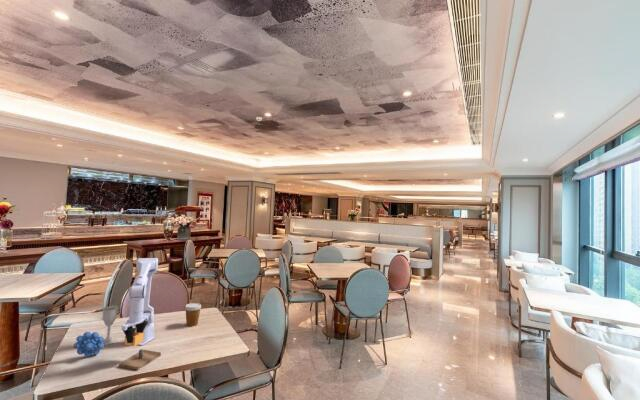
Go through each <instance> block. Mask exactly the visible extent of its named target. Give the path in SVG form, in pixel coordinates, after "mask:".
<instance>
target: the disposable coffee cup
mask: <svg viewBox="0 0 640 400" xmlns="http://www.w3.org/2000/svg"><path fill="white" fill-rule="evenodd" d="M201 309H202V304H201V303H199V302H191V303H187V304H185V307H184V310H185V319H186V320H185V322H186V326H187V327H195V326H198V324H199V318H200V314H201Z"/></svg>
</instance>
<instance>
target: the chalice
mask: <svg viewBox="0 0 640 400" xmlns="http://www.w3.org/2000/svg"><path fill="white" fill-rule="evenodd" d="M118 308H119V306H118V305H109V306H106V307H105V306H104V307H102V308H101V310H102V320H103V323H104V324H105V327H107V329H106V331H107V333H106V335H107V336H106V337H105V338H104V341H103V342H102V343H103V344H104V346H105V345H106V346H107V345H108V346H109V345H111V344H113V343H114V342H115V341H114V339H113V337H111V336H110V334H111V326H112V325H113V324H114V322H115V321H116V318H117V317H118V316H117V313H118Z"/></svg>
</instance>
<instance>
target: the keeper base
mask: <svg viewBox="0 0 640 400" xmlns="http://www.w3.org/2000/svg"><path fill="white" fill-rule="evenodd" d="M161 352H162V351H161ZM161 352H159V351H153V350H149V349H143V348H140V349H139V350H138V352H137V353H135V354H134V355H132V356H130V357H128V358H126V359H125V360H123V361H121V362H119V363H118V368H121V369H128V370H132V369H135V370H134V371H139V370H141V369H143V368H144V367H145V366H147V365H148V364H150V363H151V362H153V361H155V360H156V359H158V358H160V357H161ZM140 368H141V369H140ZM138 369H139V370H138Z"/></svg>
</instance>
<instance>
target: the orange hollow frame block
mask: <svg viewBox="0 0 640 400" xmlns="http://www.w3.org/2000/svg"><path fill="white" fill-rule="evenodd" d="M143 334H144V333H140V332H134V336H133V342H132V343H127V339H126V335H125V337H124V339H125V340H124V345H125V346H133V347H136V346H139V345H138V344H139V343H141V342H143Z"/></svg>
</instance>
